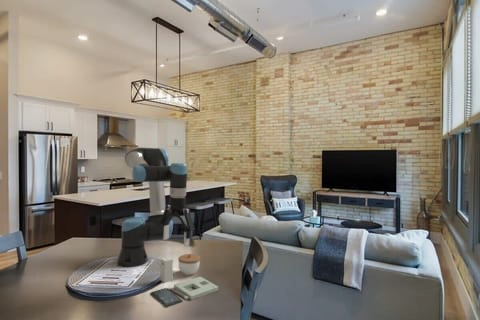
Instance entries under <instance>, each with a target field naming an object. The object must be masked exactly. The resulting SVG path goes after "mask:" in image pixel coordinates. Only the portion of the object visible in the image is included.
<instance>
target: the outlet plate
mask: <svg viewBox="0 0 480 320" xmlns="http://www.w3.org/2000/svg"><path fill="white" fill-rule="evenodd" d="M173 288H174V290H176V291H178V292H179V293H181V294H183V295H185V296H188V297H189V300H191V301H193V300H196V299H199V298H201V297H204V296H207V295H209V294H212V293H215V292H217V291H219V286H218V285H216V284H214V283H213V282H211V281H210V280H207V279H206V278H204V277H202V276H198V277H194V278H191V279H187V280H184V281H182V282H181V281H180V282H177V283H174V284H173ZM190 288H194V289H193V290H188V289H190Z"/></svg>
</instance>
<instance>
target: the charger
mask: <svg viewBox="0 0 480 320" xmlns="http://www.w3.org/2000/svg"><path fill="white" fill-rule="evenodd" d="M173 264H174V259H173V258H172V257H169V256H167V257H163V258H160V274H159V275H160V277H159V278H160V279H159V280H160V281H161V282H162V283H164V284H165V283H169V282H172V281H173V271H174V270H173V268H174V267H173Z"/></svg>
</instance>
